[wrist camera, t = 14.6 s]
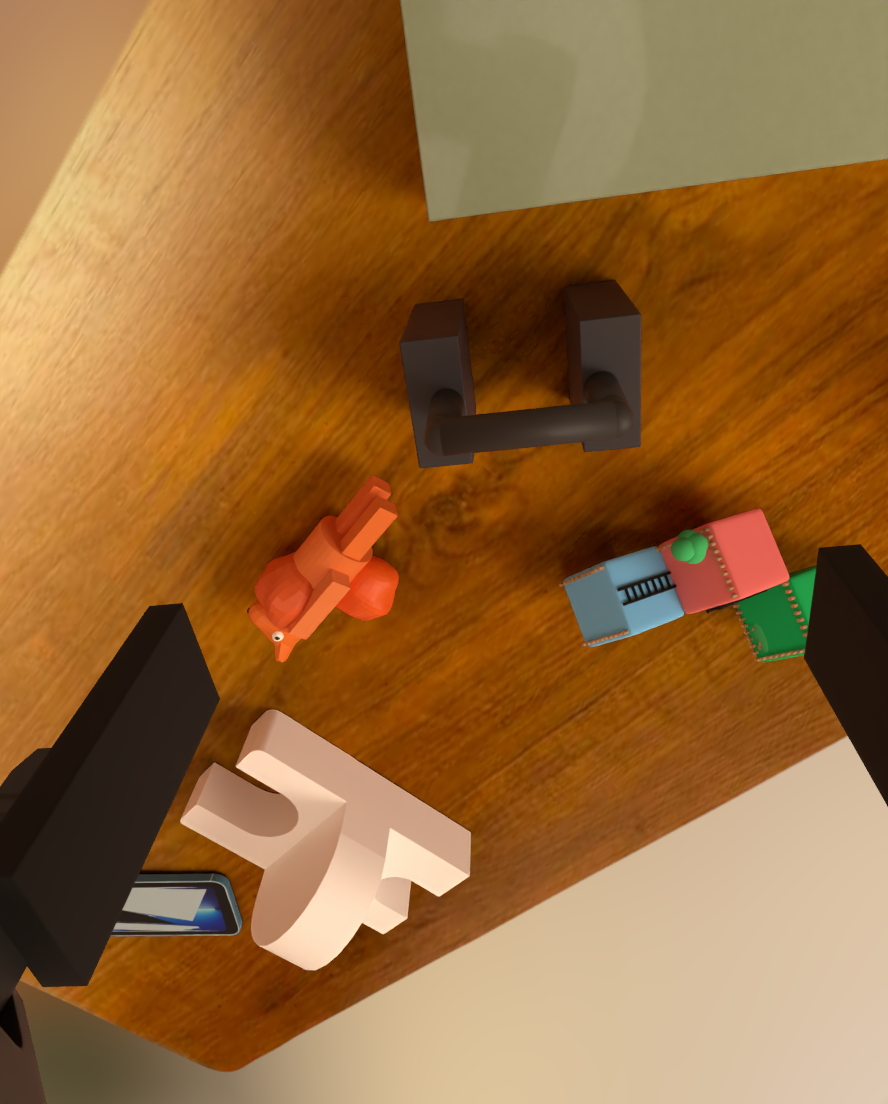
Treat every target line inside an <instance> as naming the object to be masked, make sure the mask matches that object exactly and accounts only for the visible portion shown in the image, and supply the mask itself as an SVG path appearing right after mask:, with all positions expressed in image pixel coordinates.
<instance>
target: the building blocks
mask: <svg viewBox="0 0 888 1104" xmlns="http://www.w3.org/2000/svg"><path fill="white" fill-rule="evenodd" d="M816 566H817V565H816ZM816 566H812V567H809V568H806V569H803V570H799V571H796V572H793V573H789V574H788V571H787V568H786V566H785V564H784V561H783V559H782V556H781V554H780V552H779V549H778V547H777V545H776V542H775V540H774V537H773V535H772V533H771V530H770V528H769V525H768V523H767V521H766V518H765V516H764V514H763V511H762V510H761V509H759V508H757V509H753V510H749V511H746V512H743V513H739V514H736V515H733V516H730V517H726V518H723V519H720V520H716V521H713V522H710V523H707V524H705V525H703V526H700V527H698V528H696V529H693V530H690V529H688V530H684V531H682V532H681V533H680V534H679V535H678V536H677V537H674V538H672V539H670V540H667V541H665V542H663V543H662V544H660V545H659V547H658V546H652V547H649V548H646V549H642V550H639V551H636V552H633V553H629V554H626V555H623V556H620V557H616V558H613V559H610V560H607V561H604V562H601V563H599V564H597V565H595V566H592V567H590V568H588V569H585V570H583V571H581V572H579V573H576V574H574V575H572V576H570V577H568V578H566V579H564V581H563V583H560V584H559V586H560V587H562V586H565V589H566V592H567V595H568V597H569V600H570V603H571V605H572V608H573V611H574V613H575V616H576V619H577V621H578V624H579V627H580V629H581V632H582V635H583V638H584V640H585V643H582V647H584V646H589V647H594V646H598V645H601V644H605V643H609V642H612V641H616V640H619V639H623V638H626V637H630V636H633V635H636V634H638V633H641V632H644V631H646V630H649V629H651V628H654V627H657V626H659V625H662V624H664V623H667V622H670V621H672V620H675V619H677V618H680V617H682V616H683V615H684V612H685V613H687V614H690V613H696V612H699V611H703V610H706V609H708V610H706V612H707V613H709V612H712V611H714V610H718V609H719V610H720V609H722V608H725V607H727V606H730V605H733V604H735V605H733V607H734V608H738V611H737V612H736V614H737V615H739V614H740V616H741V618H739V621H740V622H741V621H743V623H744V624H743V625H741V627H742V628H746V631H745V632H744V634H745V635H748V636H749V638H747V641H748V642H750V641H751V643H752V645H750V646H749V647H750V648H751V649H752V648H754V650H755V651H754V652H752V654H753V655H757V657H758V658H756V659H755V661H756V662H758V661H761V662H769V661H775V660H780V659H785V658H791V657H796V656H801V655H805V647H806V640H807V633H808V625H809V618H810V610H811V603H812V596H813V588H814V581H815V574H816ZM709 608H711V609H709Z"/></svg>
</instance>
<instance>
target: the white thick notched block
mask: <svg viewBox="0 0 888 1104" xmlns="http://www.w3.org/2000/svg"><path fill="white" fill-rule="evenodd" d="M235 767H237V768H238V769H240V770H242V771H244V772H245V773H247V774H249V775H250V776H252V777H254V778H255V779H257V780H259V781H260V782H262V783H264V784H266V785H267V786H269V787H271V788H272V789H274V790H276V791H277V792H279V793H281V794H274V793H270V792H267V791H264V790H262V789H260V788H258V787H256V786H254V785H253V784H251V783H249V782H247V781H246V780H244V779H242V778H241V777H239V776H237V775H235V774H234V773H232V772H230V771H229V770H227V769H225V768H224V767H222V766H220V765H218V764H217V763H215V762H214V763H213V764H212V765H211V766H210V767H209V768H208V769H207V770H206V771H205V772H204V773H203V774H202V775H201V776H200V777H199V779H198V781H197V783H196V786H195V788H194V790H193V792H192V795H191V797H190V799H189V801H188V804H187V806H186V808H185V811H184V813H183V815H182V817H181V820H180V822H181V823H182V824H183V825H185V826H187V827H188V828H190V829H192V830H194V831H196V832H198V833H199V834H201V835H203V836H205V837H207V838H208V839H210V840H212V841H214V842H216V843H218V844H219V845H221V846H223V847H225V848H227V849H229V850H230V851H232V852H234V853H236V854H238V855H239V856H241V857H243V858H245V859H247V860H249V861H250V862H252V863H254V864H256V865H258V866H259V867H261V868H263V869H265V871H264V875H263V878H262V881H261V885H260V888H259V892H258V895H257V898H256V902H255V906H254V910H253V915H252V924H251V933H252V937H253V941H254V942H255V943H256V944H257V945H258V946H260V947H262V948H264V949H266V950H268V951H270V952H272V953H274V954H276V955H278V956H280V957H282V958H284V959H286V960H288V961H290V962H292V963H293V964H295V965H297V966H299V967H301V968H303V969H305V970H317V969H319V968H321V967H323V966H325V965H327V964H328V963H329V962H330V961H331V960H333V959H334V958H335V957H336V956H337V955H338V954H339V953H340V952H341V951H342V950H343V949H344V947H345V946H346V945H347V944H348V942H349V941H350V940H351V939H352V937H353V936H354V934H355V933H356V931H357V929H358V928H359V926H360V925H361V923H364V924H365V925H367V926H369V927H371V928H373V929H375V930H376V931H378V932H380V933H382V934H385V933H386V932H388V931H389V930H391V929H392V928H394V927H395V926H397V925H398V924H400V923H401V922H403V921H404V920H406V919H407V916H408V906H409V897H410V887H411V881H413V882H415V883H416V884H418V885H420V886H421V887H423V888H425V889H427V890H428V891H430V892H432V893H433V894H435V895H437V896H441V895H442V894H444V893H445V892H447V891H448V890H450V889H451V888H453V887H454V886H456V885H457V884H459V883H460V882H462V881H463V880H465V879H466V878H467V877H469V876H470V848H471V832H470V831H468V830H466V829H465V828H463V827H462V826H460V825H459V824H457V823H455V822H454V821H452V820H451V819H449V818H447V817H446V816H444V815H443V814H441V813H439V812H438V811H436V810H435V809H433V808H432V807H430V806H428V805H427V804H425V803H424V802H422V801H420V800H419V799H417V798H416V797H414V796H413V795H411V794H409V793H408V792H406V791H405V790H403V789H401V788H400V787H398V786H397V785H395V784H393V783H392V782H390V781H389V780H387V779H386V778H384V777H382V776H381V775H379V774H378V773H376V772H374V771H373V770H371V769H370V768H368V767H366V766H365V765H363V764H362V763H360V762H359V761H357V760H356V759H355V758H353V757H352V756H350V755H348V754H347V753H345V752H344V751H342V750H340V749H339V748H337V747H336V746H334V745H333V744H331V743H329V742H328V741H326V740H325V739H323V738H321V737H320V736H318V735H317V734H315V733H313V732H312V731H310V730H309V729H307V728H306V727H304V726H302V725H301V724H299V723H298V722H296V721H294V720H293V719H291V718H290V717H288V716H287V715H285V714H283V713H282V712H280V711H278V710H274V709H271V710H267V711H266V712H265V713H264V714H263V715H262V716H261V717H260V718H259V719H258V720H257V721H256V722H255V723H254V724H253V725H252V726H251V728H250V731H249V733H248V736H247V738H246V741H245V743H244V746H243V749H242V751H241V754H240V756H239V759H238V761H237V764H236V766H235Z"/></svg>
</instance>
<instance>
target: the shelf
mask: <svg viewBox="0 0 888 1104" xmlns="http://www.w3.org/2000/svg"><path fill="white" fill-rule="evenodd" d="M400 7H401V15H402V22H403V30H404V38H405V46H406V53H407V61H408V69H409V76H410V84H411V92H412V99H413V107H414V115H415V122H416V130H417V138H418V145H419V153H420V161H421V169H422V176H423V184H424V192H425V199H426V207H427V215H428V220H429V221H430V222H431V221H439V220H446V219H453V218H460V217H468V216H475V215H482V214H490V213H497V212H504V211H512V210H519V209H526V208H534V207H541V206H548V205H556V204H563V203H570V202H578V201H585V200H592V199H600V198H607V197H614V196H622V195H629V194H636V193H643V192H651V191H658V190H665V189H673V188H680V187H687V186H695V185H702V184H709V183H717V182H724V181H731V180H739V179H746V178H753V177H761V176H768V175H775V174H783V173H790V172H797V171H805V170H812V169H819V168H826V167H834V166H841V165H848V164H856V163H863V162H870V161H878V160H885V159H888V0H400Z"/></svg>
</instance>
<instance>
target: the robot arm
mask: <svg viewBox="0 0 888 1104" xmlns="http://www.w3.org/2000/svg"><path fill="white" fill-rule="evenodd" d="M804 659H805V661H806V663H807V664H808V666H809V668H810V670H811V671H812V673H813V675H814V677H815V679H816V680H817V682H818V684H819V686H820V687H821V689H822V691H823V693H824V694H825V696H826V698H827V700H828V702H829V703H830V705H831V707H832V709H833V710H834V712H835V714H836V716H837V717H838V719H839V721H840V723H841V725H842V726H843V728H844V730H845V732H846V733H847V735H848V737H849V739H850V740H851V742H852V744H853V746H854V747H855V749H856V751H857V753H858V755H859V756H860V758H861V760H862V762H863V763H864V765H865V767H866V769H867V771H868V772H869V774H870V776H871V778H872V779H873V781H874V783H875V785H876V786H877V788H878V790H879V792H880V793H881V795H882V797H883V799H884V801H885V802H886V804H887V806H888V577H887V575H886V574H885V573H884V572H883V571H882V569H881V568H880V567H879V566H878V565H877V563H876V562H875V561H874V560H873V559H872V558H871V556H870V555H869V554H868V553H867V552H866V550H865V549H864V548H863V547H862V546H861V544H859V545H847V546H836V547H824V548H819V551H818V559H817V566H816V574H815V581H814V588H813V596H812V603H811V610H810V618H809V625H808V633H807V640H806V647H805V655H804ZM219 700H220V698H219V696H218V693H217V691H216V688H215V685H214V683H213V680H212V678H211V675H210V672H209V670H208V667H207V665H206V662H205V660H204V657H203V654H202V652H201V649H200V647H199V644H198V642H197V639H196V636H195V634H194V631H193V629H192V626H191V623H190V621H189V618H188V616H187V613H186V611H185V608H184V605H183V603H180V604H168V605H157V606H149V607H148V609H147V610H146V612H145V613H144V615H143V616H142V618H141V619H140V620H139V622H138V623H137V625H136V626H135V628H134V629H133V631H132V632H131V634H130V635H129V636H128V638H127V639H126V641H125V642H124V644H123V645H122V647H121V648H120V649H119V651H118V652H117V654H116V655H115V657H114V658H113V660H112V661H111V663H110V664H109V665H108V667H107V668H106V670H105V671H104V673H103V674H102V676H101V677H100V678H99V680H98V681H97V683H96V684H95V686H94V687H93V689H92V690H91V691H90V693H89V694H88V696H87V697H86V699H85V700H84V702H83V703H82V705H81V706H80V707H79V709H78V710H77V712H76V713H75V715H74V716H73V718H72V719H71V720H70V722H69V723H68V725H67V726H66V728H65V729H64V731H63V732H62V734H61V735H60V736H59V738H58V739H57V741H56V742H55V744H54V745H53V747H52V748H42V749H37V750H36V751H34V752H33V753H32V754H31V755H30V756H29V757H27V758H26V759H25V760H24V761H23V762H22V763H20V764H19V765H18V766H17V767H16V768H14V769H13V770H12V771H11V773H10V774H9V775H8V777H7V778H6V780H5V781H4V782H3V784H2V785H1V786H0V1104H47V1103H46V1099H45V1095H44V1090H43V1086H42V1082H41V1077H40V1073H39V1069H38V1065H37V1060H36V1056H35V1052H34V1047H33V1043H32V1038H31V1034H30V1030H29V1025H28V1021H27V1017H26V1012H25V1008H24V1004H23V1000H22V999H21V997H20V995H19V994H18V992H17V991H16V989H15V987H16V985H17V983H18V981H19V980H20V978H21V976H22V974H23V972H24V970H25V969H26V967H27V966H28V968H29V969H30V971H31V972H32V973H33V975H34V976H35V977H36V979H37V980H38V981H39V983H40V984H41V985H42V987H61V986H87V985H88V983H89V981H90V979H91V977H92V975H93V972H94V970H95V968H96V966H97V964H98V962H99V959H100V957H101V955H102V953H103V951H104V949H105V946H106V944H107V942H108V940H109V938H110V936H111V933H112V931H113V929H114V927H115V925H116V923H117V921H118V918H119V916H120V914H121V912H122V910H123V908H124V905H125V903H126V901H127V899H128V897H129V895H130V892H131V890H132V888H133V886H134V884H135V882H136V879H137V877H138V875H139V873H140V871H141V869H142V866H143V864H144V862H145V860H146V858H147V856H148V853H149V851H150V849H151V847H152V845H153V843H154V840H155V838H156V836H157V834H158V832H159V830H160V827H161V825H162V823H163V821H164V819H165V817H166V814H167V812H168V810H169V808H170V806H171V804H172V802H173V799H174V797H175V795H176V793H177V791H178V789H179V786H180V784H181V782H182V780H183V778H184V776H185V773H186V771H187V769H188V767H189V765H190V763H191V760H192V758H193V756H194V754H195V752H196V750H197V747H198V745H199V743H200V741H201V739H202V737H203V734H204V732H205V730H206V728H207V726H208V724H209V721H210V719H211V717H212V715H213V713H214V711H215V708H216V706H217V704H218V702H219Z"/></svg>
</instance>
